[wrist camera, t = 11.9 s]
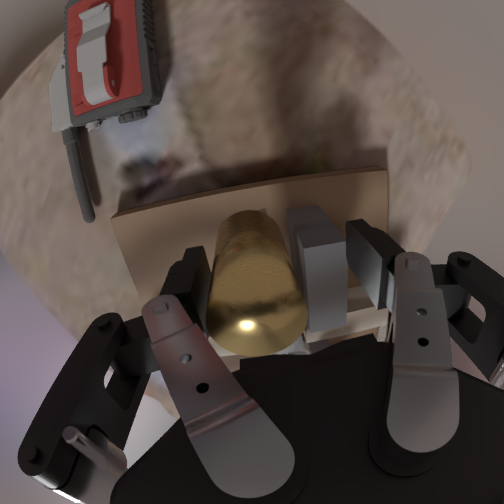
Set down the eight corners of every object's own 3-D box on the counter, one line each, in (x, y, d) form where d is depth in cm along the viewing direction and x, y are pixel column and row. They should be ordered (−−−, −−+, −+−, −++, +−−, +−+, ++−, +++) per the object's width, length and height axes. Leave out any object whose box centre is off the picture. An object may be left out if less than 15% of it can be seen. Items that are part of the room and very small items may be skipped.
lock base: (366, 357, 30) (387, 407, 23) (192, 386, 31) (186, 440, 24) (378, 166, 20) (435, 193, 13) (117, 212, 21) (71, 256, 14)
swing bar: (313, 361, 20) (334, 442, 14) (273, 371, 20) (283, 454, 14) (269, 195, 14) (296, 265, 8) (210, 213, 14) (188, 295, 8)
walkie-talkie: (60, 10, 12) (88, 218, 21) (32, -1, 8) (62, 240, 17) (153, -28, 12) (183, 200, 21) (137, -52, 8) (170, 220, 17)
